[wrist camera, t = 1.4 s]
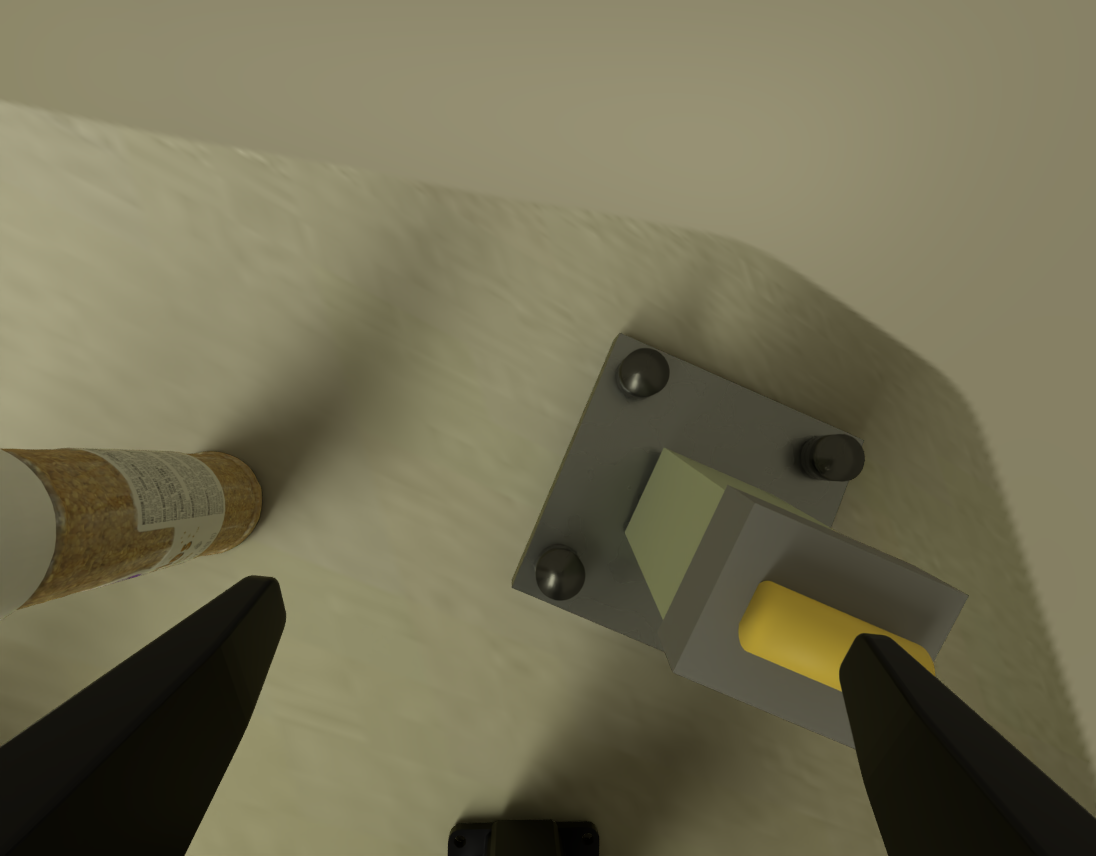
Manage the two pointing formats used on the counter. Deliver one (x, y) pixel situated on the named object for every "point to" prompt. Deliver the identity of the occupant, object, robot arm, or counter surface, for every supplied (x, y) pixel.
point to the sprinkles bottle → (113, 516)
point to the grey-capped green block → (773, 594)
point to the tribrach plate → (630, 457)
